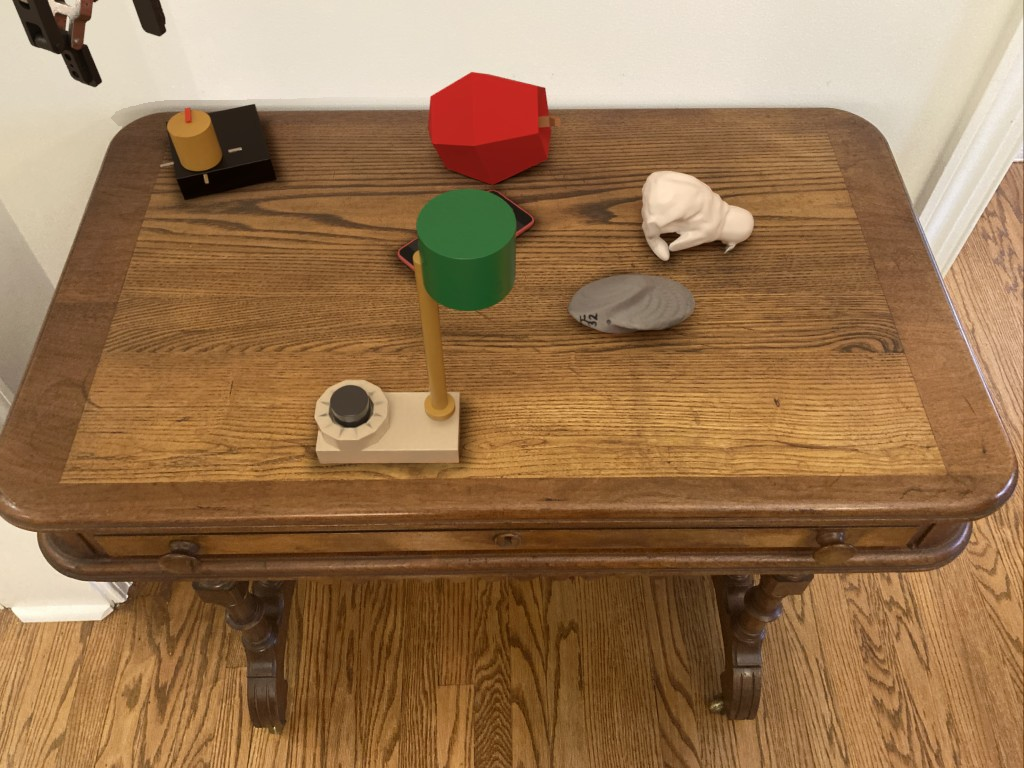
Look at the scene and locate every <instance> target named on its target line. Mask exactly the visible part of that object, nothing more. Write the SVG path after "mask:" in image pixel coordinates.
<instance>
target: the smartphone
mask: <svg viewBox="0 0 1024 768" xmlns="http://www.w3.org/2000/svg"><path fill="white" fill-rule="evenodd" d="M487 192H490V193H492V194H494V195H497V196H498V197H500V198H501V199H503V200H504V201H505V202H506V203H507V204H508V205H509V206H510V207H511V209H512V210H513V212H514V214H515V218H516V238H517V237H519V236H521V234H523V233H524V232H526V231H528V230H529V229H530V228H531V227H533V226H534V224H535V218H534V217H533V216H532V215H531V214H530V213H529V212H528V211H526V210H525V209H524V208H522V207H521V206H519V205H518V204H517V203H515V202H513V201H512V200H511V199H510V198H508V197H506V196H505V195H504V194H502V193H501V192H499V191H497V190H495V189H489V190H487ZM418 250H419V246H418V237H417V236H416V238H414V239H412V240H411V241H409V242H408V243H406V244H405V245H403V246H402V247H400V248H399V249H398V251H397V257H398V259H399V260H400V261H401V262H402V263H403V264H405V266H407V267H408V268H410V269H411V270H412V271H413V272H414V273H415V271H414V264H413V255H414V253H415V252H417V251H418Z"/></svg>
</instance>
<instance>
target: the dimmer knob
mask: <svg viewBox="0 0 1024 768" xmlns="http://www.w3.org/2000/svg"><path fill="white" fill-rule="evenodd" d="M168 121H169V122H168ZM168 121H167V122H168V124H167V128H166V130H167V129H168V131H169V134H170V136H171V139H172V142H173V144H174V147H175V149H176V152H177V154H178V157H179V159H180V162H181V164H182V166H183V167H184V168H186V169H188V170H191V171H204V170H208V169H210V168H213V167H214V166H216V165H217V164H218V163H219V162H220V161H221V159H222V151H221V148H220V145H219V142H218V139H217V136H216V133H215V130H214V127H213V125H212V122H211V119H210V117H209V115H208V114H207V113H206V111H204V110H203V111H202V110H199V109H191V108H190V107H184V110H183V111H180V112H178V113H176V114H174V115H173V116H172V117H170V119H169V120H168Z"/></svg>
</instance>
